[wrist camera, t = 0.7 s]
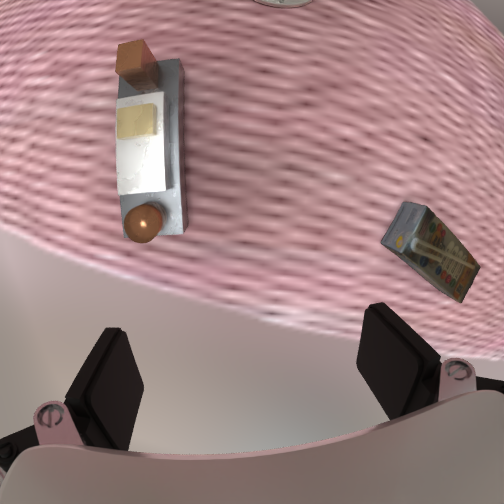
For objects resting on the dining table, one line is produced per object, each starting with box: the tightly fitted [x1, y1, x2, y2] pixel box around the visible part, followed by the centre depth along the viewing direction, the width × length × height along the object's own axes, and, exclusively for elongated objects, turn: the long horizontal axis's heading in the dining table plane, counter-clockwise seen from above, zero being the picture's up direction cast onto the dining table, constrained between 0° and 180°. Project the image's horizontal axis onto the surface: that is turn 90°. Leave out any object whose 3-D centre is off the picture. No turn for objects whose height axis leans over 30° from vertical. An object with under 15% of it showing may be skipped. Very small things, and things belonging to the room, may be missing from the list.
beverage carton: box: [381, 202, 480, 303], centre depth 36 cm, size 8×19×7 cm, turn 59°
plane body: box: [115, 39, 188, 243], centre depth 25 cm, size 20×7×12 cm, turn 1°
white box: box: [116, 92, 171, 195], centre depth 24 cm, size 10×5×4 cm, turn 1°
